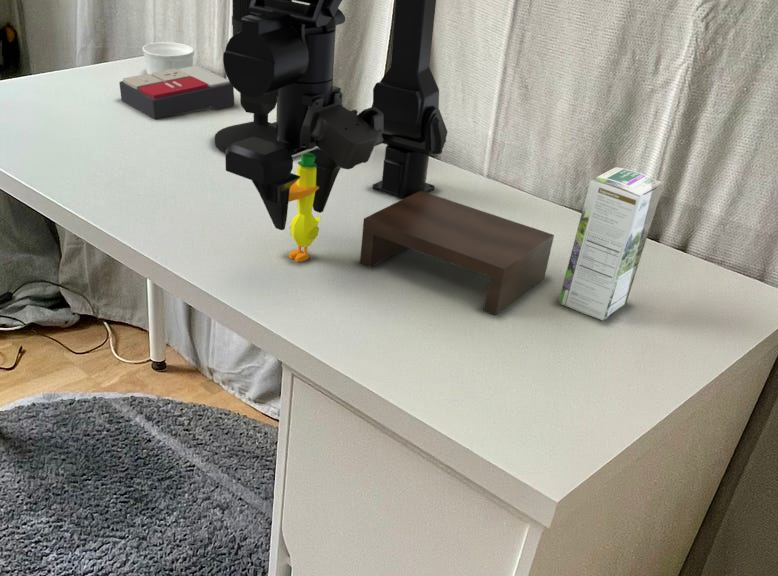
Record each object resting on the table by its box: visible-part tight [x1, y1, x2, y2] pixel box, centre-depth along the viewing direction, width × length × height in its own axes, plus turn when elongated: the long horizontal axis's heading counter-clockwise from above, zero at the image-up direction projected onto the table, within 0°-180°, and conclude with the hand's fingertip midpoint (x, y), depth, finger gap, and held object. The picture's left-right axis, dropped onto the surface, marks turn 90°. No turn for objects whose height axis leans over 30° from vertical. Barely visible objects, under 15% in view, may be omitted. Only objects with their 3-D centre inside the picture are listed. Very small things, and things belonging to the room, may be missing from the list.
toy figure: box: [288, 153, 322, 263], centre depth 100 cm, size 7×4×12 cm, turn 135°
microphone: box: [214, 0, 293, 154], centre depth 125 cm, size 14×14×25 cm
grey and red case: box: [118, 65, 235, 120], centre depth 144 cm, size 11×4×15 cm
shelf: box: [359, 191, 555, 316], centre depth 102 cm, size 12×18×6 cm, turn 54°
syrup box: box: [558, 166, 664, 321], centre depth 95 cm, size 6×6×14 cm
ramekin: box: [142, 41, 195, 75], centre depth 157 cm, size 9×9×4 cm
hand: (299, 220), depth 101 cm, fingers closed on toy figure, 7 cm apart
